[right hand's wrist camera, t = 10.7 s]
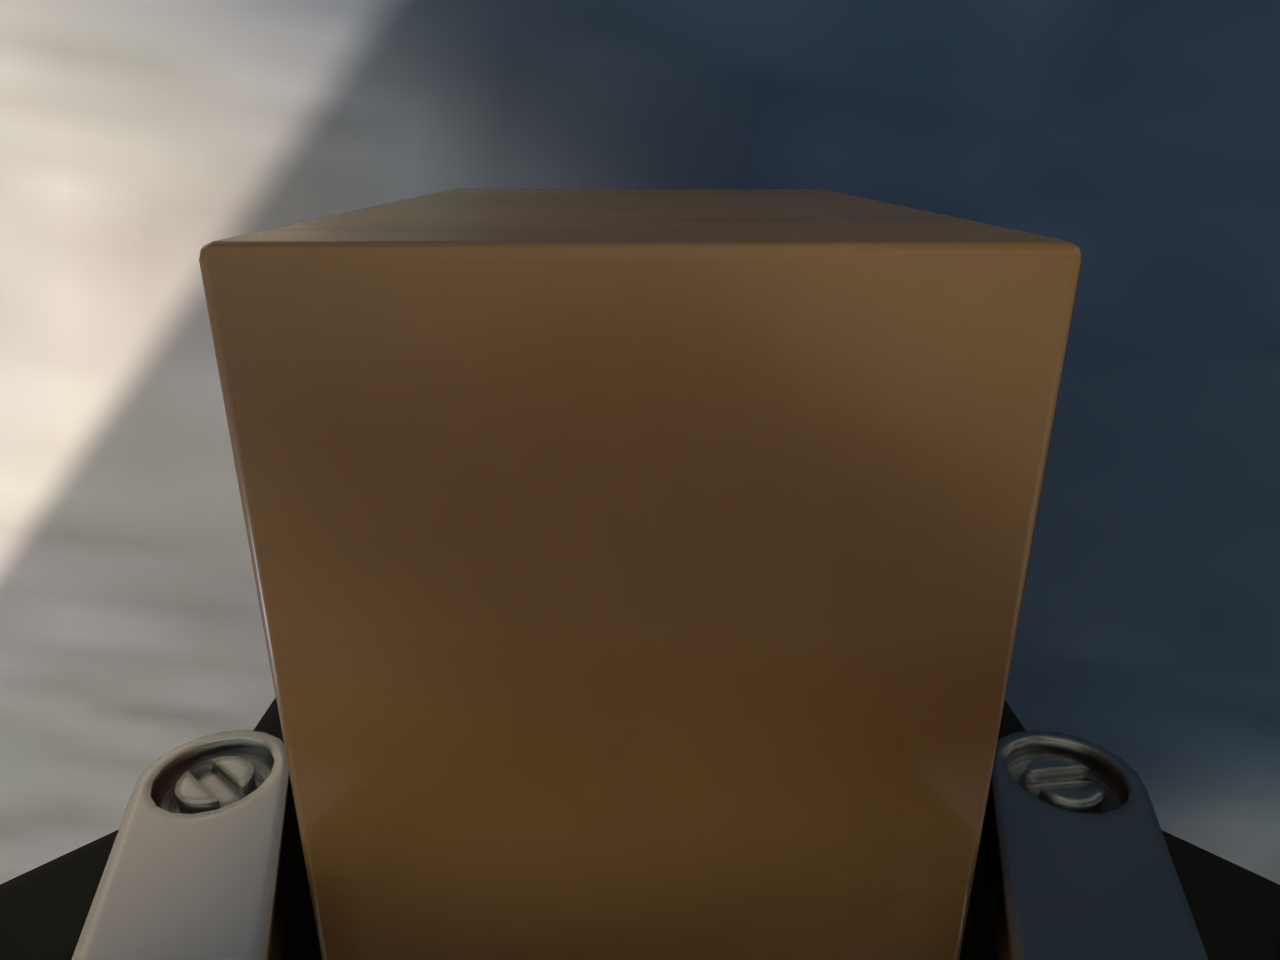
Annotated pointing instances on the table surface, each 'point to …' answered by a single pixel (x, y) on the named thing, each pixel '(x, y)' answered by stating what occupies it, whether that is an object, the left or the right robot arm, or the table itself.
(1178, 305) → the table surface
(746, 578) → the post
